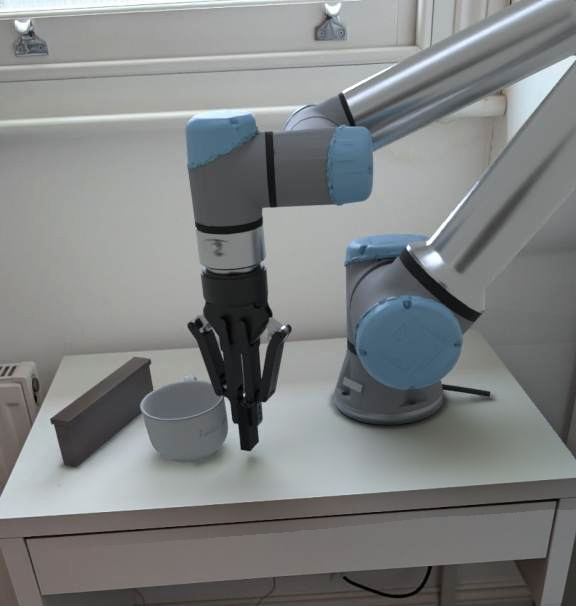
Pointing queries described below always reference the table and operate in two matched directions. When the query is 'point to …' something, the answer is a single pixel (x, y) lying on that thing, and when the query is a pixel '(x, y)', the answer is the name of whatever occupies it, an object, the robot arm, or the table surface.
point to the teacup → (185, 419)
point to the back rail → (102, 411)
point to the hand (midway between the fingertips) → (249, 445)
